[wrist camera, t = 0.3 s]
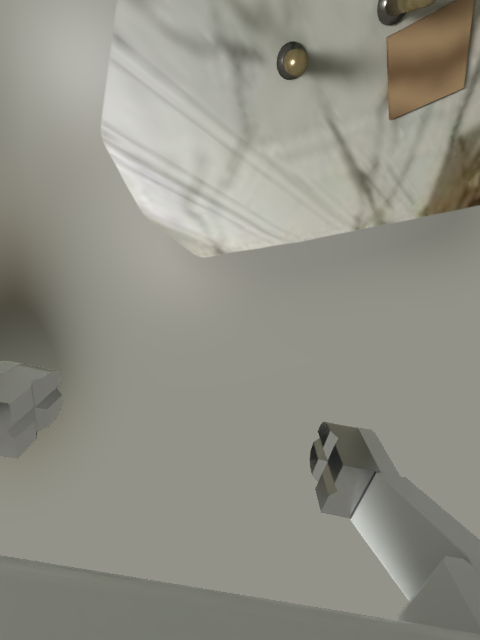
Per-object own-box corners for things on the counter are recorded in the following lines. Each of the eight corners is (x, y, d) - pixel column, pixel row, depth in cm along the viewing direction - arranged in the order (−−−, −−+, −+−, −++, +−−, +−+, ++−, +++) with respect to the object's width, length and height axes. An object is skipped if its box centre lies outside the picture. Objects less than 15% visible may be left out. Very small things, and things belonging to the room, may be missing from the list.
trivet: (386, 37, 37) (388, 37, 37) (471, -8, 34) (475, -9, 33) (389, 119, 44) (390, 119, 43) (460, 87, 40) (463, 87, 40)
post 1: (273, 51, 39) (276, 50, 31) (300, 35, 37) (310, 30, 30) (281, 84, 41) (285, 91, 34) (306, 70, 40) (317, 75, 32)
